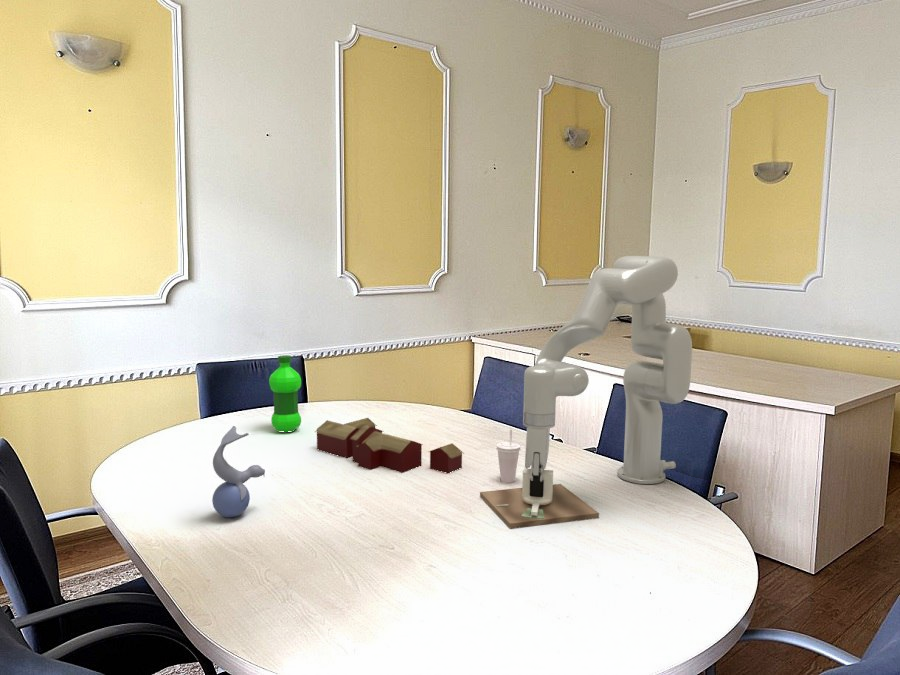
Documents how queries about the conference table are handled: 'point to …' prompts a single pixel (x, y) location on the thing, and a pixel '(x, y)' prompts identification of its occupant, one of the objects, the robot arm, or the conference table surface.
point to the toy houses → (382, 448)
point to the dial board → (559, 510)
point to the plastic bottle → (285, 396)
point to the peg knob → (546, 491)
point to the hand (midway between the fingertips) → (537, 492)
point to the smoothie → (508, 459)
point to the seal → (232, 480)
